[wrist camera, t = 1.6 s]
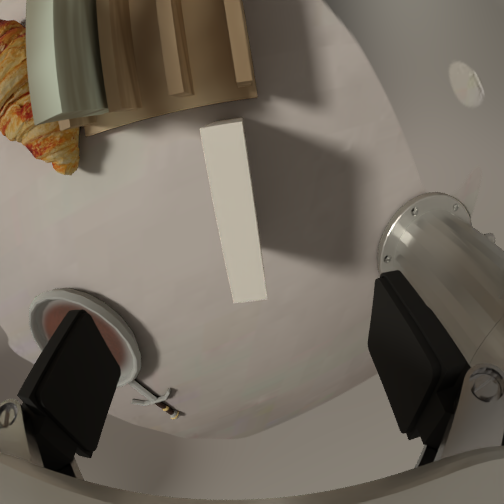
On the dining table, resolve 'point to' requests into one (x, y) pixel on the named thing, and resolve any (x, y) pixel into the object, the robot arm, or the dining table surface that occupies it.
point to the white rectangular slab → (235, 207)
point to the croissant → (29, 107)
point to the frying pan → (108, 323)
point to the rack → (133, 59)
